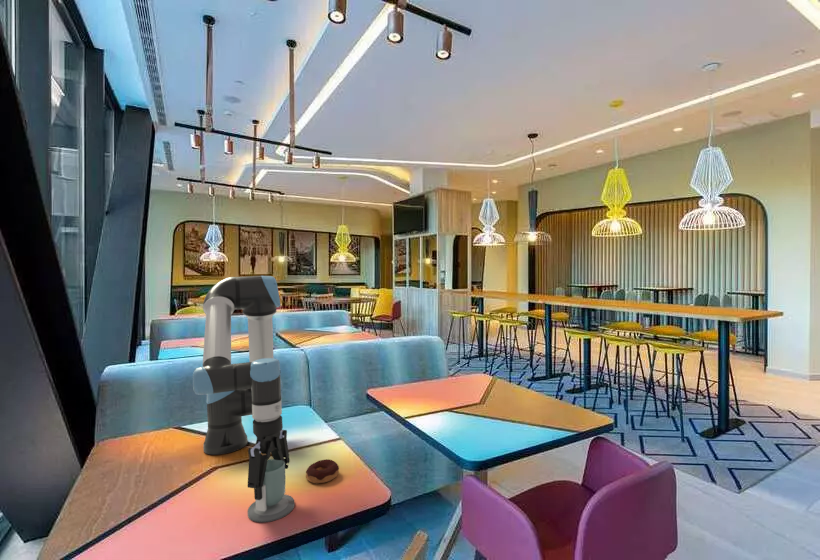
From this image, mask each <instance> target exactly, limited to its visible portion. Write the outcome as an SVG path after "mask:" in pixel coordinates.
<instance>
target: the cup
mask: <svg viewBox="0 0 820 560" xmlns="http://www.w3.org/2000/svg"><path fill="white" fill-rule="evenodd" d="M286 483H287V481H286V469H285V463H284V461H283V460H274V459H273V458H269V459H268V461H267V466H266V472H265V477H264V483H263V485H265V486H266V506H273V505H275V504H277V503H279V502H280V501H281V499H282V498H283V496H284V493H285V494H286Z"/></svg>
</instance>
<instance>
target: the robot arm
mask: <svg viewBox="0 0 820 560" xmlns="http://www.w3.org/2000/svg"><path fill="white" fill-rule="evenodd" d="M277 282H278V281H277V280H276V278H275V277H274V276H271V275H252V276H251V275H250V276H248V275H247V276H230V277H226V278H224V279H221V280H220V281H218V282H216V283H215V284H214V285H213V286H212V287H211V288H210V289H209V290H208V292H207V293H206V295H205V297H204V300H203V305H202V309H203V310H202V311H203V313H204V314H205V327H204V337H203V339H204V342H203V354H202V366H200V367H195V368H194V369H193V372H192V388H193V392H194V394H195V395H197V396H198V395H199V396H200V395H201V396H202V395H204V396H205V395H206V402H205V403H206V409H207V411H206V413H207V416H206V417H207V430H206V434H205V439H204V442H203V444H202V445H203V453H205V454H206V455H211V456H213V455H214V456H215V455H224V454H229V453H230V454H231V453H233V452H236V451H239V450H241V449H243V448H244V447H246V446H247V445H248V441H249V440H248V435H247V433H246V432H245V428H244V425H243V422H242V421H243V420H242V419H243V417H246V416H247V417H248V416H251V418H252V419H253V420H252V433H253V434H254V435H255V437H256V441H255V445H254V446H253V447H248V450H247V452H248V470H247V488H250V489H253V495H254V496H253V497H254V500H255V501H256V510H258V511H266V510H267V509H266V486H265V485H263V483H264V477H265V472H266V466H267V461H268V460H269V459H271V455H272V459H274V460H283V461H284V463H285V470H288V469H289V463H290V462H291V459H290V454H289V453H290V452H289V447H288V439H287V435H288V434H287V433H288V430H287V429H283V427H284V425H283V416H282V412H283V409H282V401H283V400H282V399H283V381H282V379H281V373H282V371H281V364H280V360H279V359H277V358H274V334H273V333H274V330H273V316H274V315H275V314H277V308H279V307H281V300H280V299H281V298H280V293H279V289H278V288H279V287H278V283H277ZM235 310H242V314H243V315H244V316H245V317H246V318H247V329H248V330H247V331H248V337H247V338H248V353H249V354H248V358H249V361H248V362H247V361H246V362H240V363H239V362H238V363H232V315H233V313H234V311H235ZM284 494H286V492H285V493H284ZM255 501H254V502H255Z"/></svg>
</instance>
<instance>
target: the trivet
mask: <svg viewBox="0 0 820 560" xmlns="http://www.w3.org/2000/svg"><path fill="white" fill-rule="evenodd" d="M295 504H296V503H295V499H294V498H293V496H292V495H289V494H286V493H285V494H284V496H283V498H282V499H281V501H280V502H279V503H277V504H275V505H273V506H266V509H267V510H266V511H258V510H256V501H253V503H251V504H250V505H249V507H248V509H247V517H248V519H249V520H250V521H252V522H255V523H270V522H275V521H279V520H280V519H283V518H284V517H287V516H288V515H289V514H290V513H291V512H292V511H293V510H294V508H295Z"/></svg>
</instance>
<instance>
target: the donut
mask: <svg viewBox="0 0 820 560" xmlns="http://www.w3.org/2000/svg"><path fill="white" fill-rule="evenodd" d="M339 469H340V468H339V465H338V463H337V462H336V461H334V460H332V459H329V458H328V459H321V460H317V461H315V462H313V463H311V464H310V465H309V466H308V467H307V470H306V471H305V473H306V475H305V479H306V480H307V481H308V482H310V483H312V484H324V483H328V482H331V481H333V480H334V479H335V478H337V477H338V476H339V473H340V471H339Z"/></svg>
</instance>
